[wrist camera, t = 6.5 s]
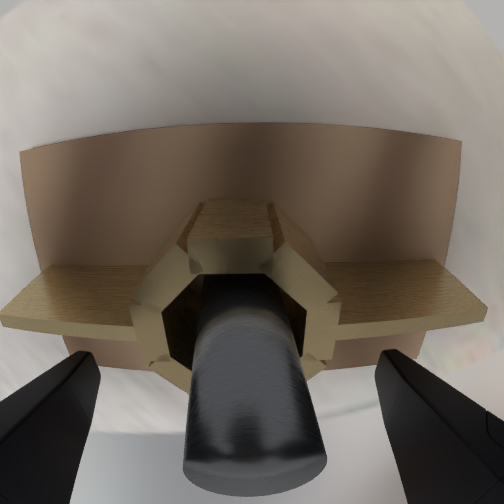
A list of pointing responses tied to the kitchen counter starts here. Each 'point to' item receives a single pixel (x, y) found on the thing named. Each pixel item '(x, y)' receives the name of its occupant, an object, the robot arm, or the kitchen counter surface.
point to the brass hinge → (237, 262)
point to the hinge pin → (248, 394)
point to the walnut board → (244, 186)
